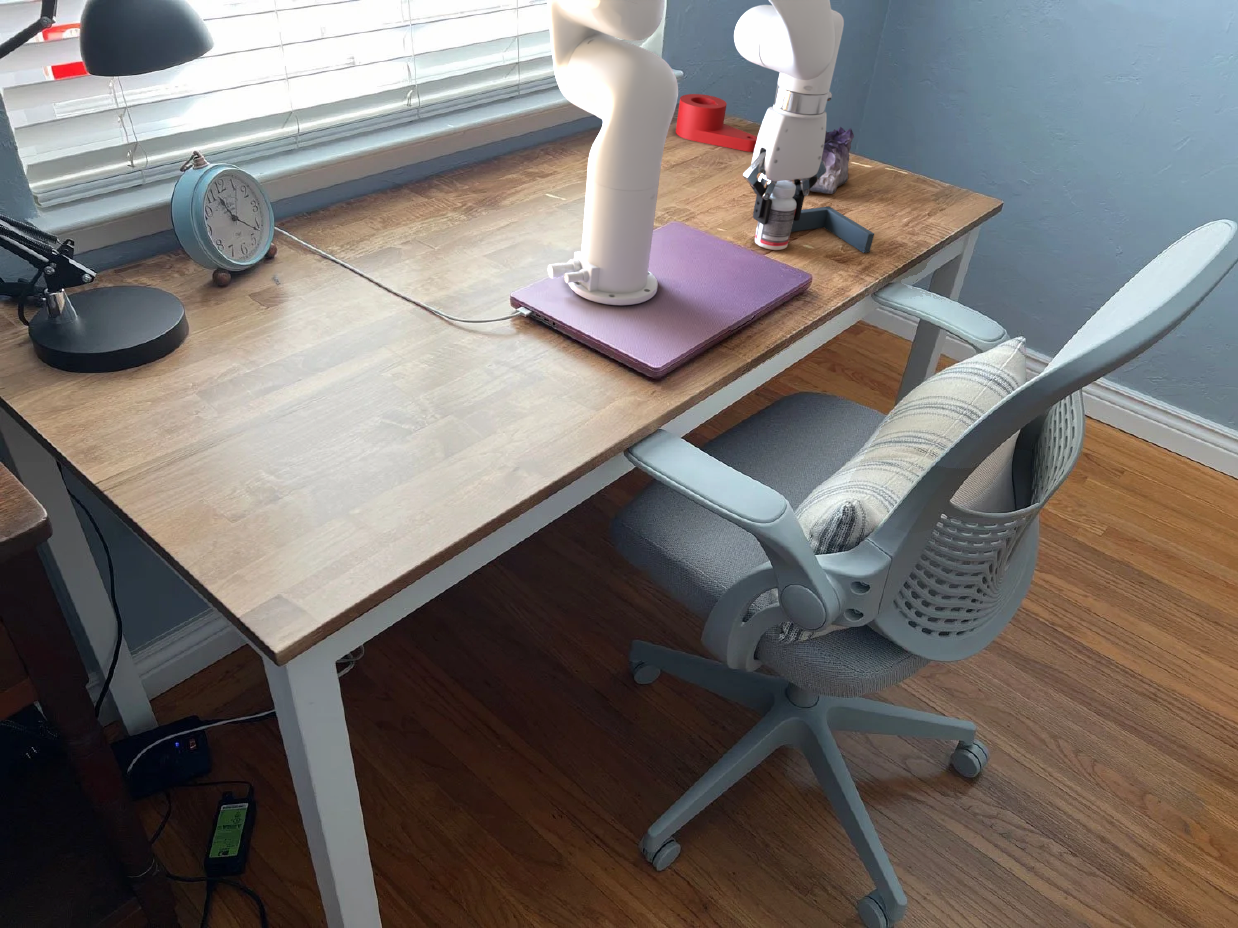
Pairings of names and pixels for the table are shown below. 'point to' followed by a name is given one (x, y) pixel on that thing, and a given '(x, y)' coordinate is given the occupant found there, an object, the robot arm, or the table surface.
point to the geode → (834, 161)
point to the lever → (710, 123)
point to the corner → (835, 226)
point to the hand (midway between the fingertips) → (776, 218)
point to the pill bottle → (778, 218)
